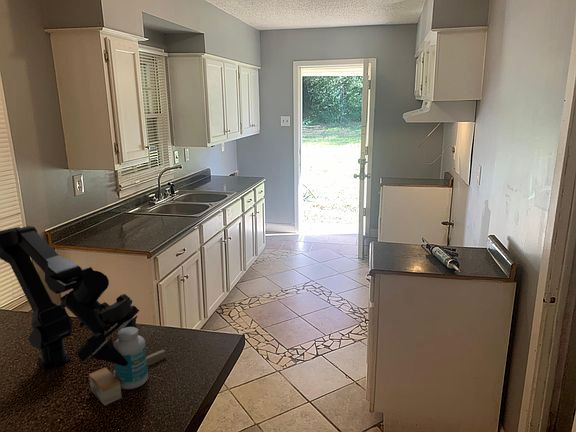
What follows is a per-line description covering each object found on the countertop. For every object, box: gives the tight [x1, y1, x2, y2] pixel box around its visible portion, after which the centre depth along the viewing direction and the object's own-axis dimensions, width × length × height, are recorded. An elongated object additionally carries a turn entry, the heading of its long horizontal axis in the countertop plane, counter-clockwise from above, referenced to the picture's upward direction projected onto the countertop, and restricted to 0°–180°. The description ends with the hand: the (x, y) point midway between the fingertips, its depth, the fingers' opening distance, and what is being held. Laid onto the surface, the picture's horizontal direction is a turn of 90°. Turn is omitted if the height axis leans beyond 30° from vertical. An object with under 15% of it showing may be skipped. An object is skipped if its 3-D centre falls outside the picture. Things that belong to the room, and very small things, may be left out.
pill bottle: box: [113, 327, 149, 390], centre depth 105 cm, size 8×7×14 cm
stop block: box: [88, 366, 123, 406], centre depth 103 cm, size 8×4×4 cm, turn 45°
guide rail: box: [112, 349, 167, 377], centre depth 114 cm, size 1×14×2 cm, turn 135°
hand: (135, 355), depth 105 cm, fingers closed on pill bottle, 7 cm apart
